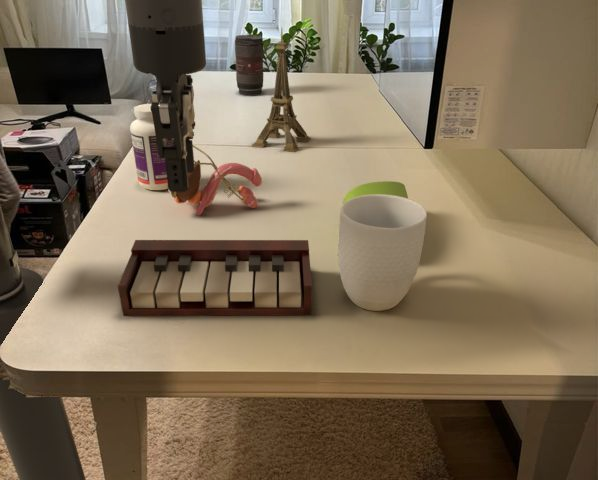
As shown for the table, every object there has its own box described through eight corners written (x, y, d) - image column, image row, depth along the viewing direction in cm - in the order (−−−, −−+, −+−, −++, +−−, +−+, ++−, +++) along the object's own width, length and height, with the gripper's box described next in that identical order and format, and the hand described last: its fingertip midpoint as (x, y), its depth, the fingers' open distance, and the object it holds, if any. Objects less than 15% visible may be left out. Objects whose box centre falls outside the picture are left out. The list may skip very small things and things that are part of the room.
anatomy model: (278, 195, 104) (217, 133, 95) (223, 248, 107) (159, 194, 98) (266, 175, 112) (208, 116, 103) (215, 225, 115) (155, 173, 106)
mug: (369, 262, 92) (377, 179, 84) (437, 282, 87) (452, 196, 79) (319, 304, 81) (323, 214, 74) (393, 330, 77) (405, 236, 69)
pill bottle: (185, 178, 119) (177, 102, 111) (174, 193, 113) (165, 114, 104) (145, 176, 120) (135, 100, 111) (133, 191, 113) (120, 112, 105)
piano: (122, 315, 78) (116, 282, 75) (140, 270, 88) (135, 239, 85) (311, 315, 79) (312, 282, 76) (307, 270, 89) (308, 239, 86)
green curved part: (343, 161, 101) (362, 218, 86) (411, 173, 103) (441, 231, 88) (331, 203, 106) (348, 264, 90) (396, 214, 108) (423, 275, 93)
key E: (180, 301, 78) (179, 292, 77) (188, 270, 85) (187, 261, 84) (203, 301, 78) (202, 292, 77) (209, 270, 85) (208, 261, 84)
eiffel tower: (251, 146, 136) (248, 22, 121) (270, 133, 144) (268, 16, 129) (294, 152, 133) (296, 26, 118) (311, 138, 141) (314, 19, 126)
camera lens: (263, 96, 173) (262, 39, 164) (235, 96, 173) (233, 38, 164) (264, 90, 180) (263, 34, 171) (237, 89, 179) (235, 34, 171)
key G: (230, 301, 78) (229, 292, 77) (234, 270, 85) (233, 261, 84) (252, 301, 78) (252, 292, 77) (254, 270, 85) (254, 261, 84)
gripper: (141, 8, 66) (159, 160, 76) (112, 29, 54) (138, 204, 64) (209, 9, 66) (219, 160, 76) (195, 30, 55) (208, 205, 65)
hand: (182, 180), depth 70 cm, fingers open, 5 cm apart
